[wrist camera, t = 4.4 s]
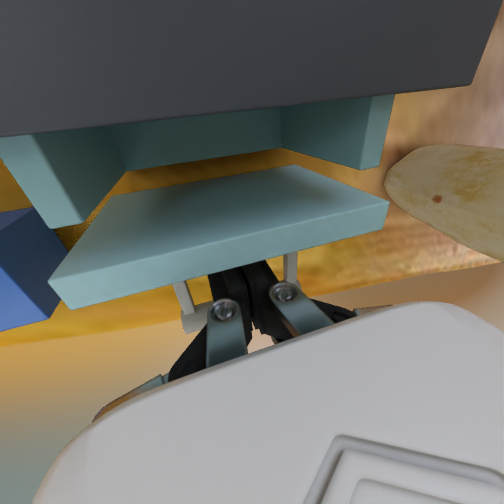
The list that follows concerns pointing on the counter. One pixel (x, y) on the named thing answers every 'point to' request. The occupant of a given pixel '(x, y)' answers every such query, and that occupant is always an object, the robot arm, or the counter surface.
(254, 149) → the teal drawer
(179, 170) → the counter surface
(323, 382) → the robot arm
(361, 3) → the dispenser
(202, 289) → the counter surface
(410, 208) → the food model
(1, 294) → the blue cube
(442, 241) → the counter surface
